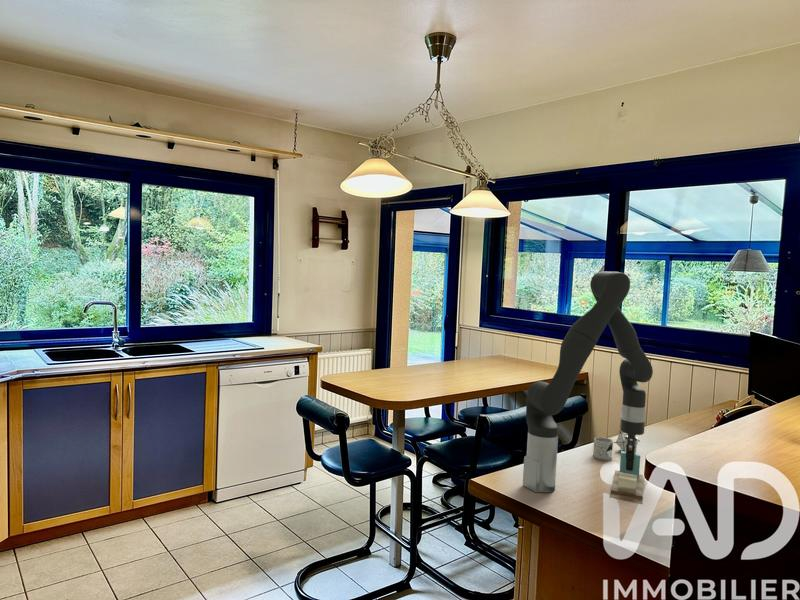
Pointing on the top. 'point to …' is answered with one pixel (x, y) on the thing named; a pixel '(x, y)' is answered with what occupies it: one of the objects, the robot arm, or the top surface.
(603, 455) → the mug
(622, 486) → the ash cube
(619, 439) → the game die
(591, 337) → the robot arm
